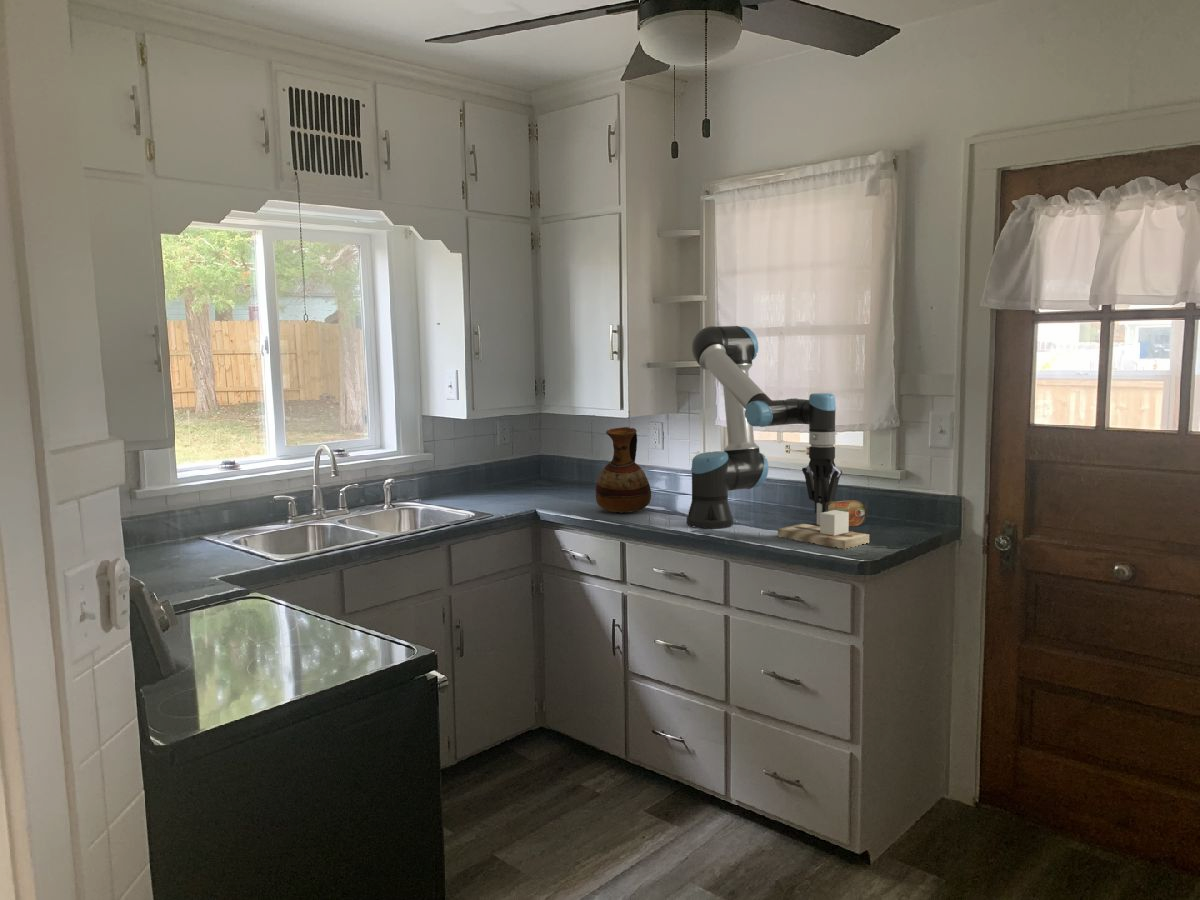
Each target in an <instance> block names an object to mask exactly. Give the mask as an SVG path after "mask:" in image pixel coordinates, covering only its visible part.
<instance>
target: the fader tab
mask: <svg viewBox="0 0 1200 900" xmlns="http://www.w3.org/2000/svg"><path fill="white" fill-rule="evenodd" d="M819 526H820V533H822V534H828V535H834V536H835V535H839V534H843V533H847V532H849V528H850V527H849V512H844V511H838V510H832V511H828V512H823V513H820V525H819Z"/></svg>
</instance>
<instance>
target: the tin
mask: <svg viewBox="0 0 1200 900" xmlns="http://www.w3.org/2000/svg"><path fill="white" fill-rule="evenodd" d="M832 510H838V511H844V512H849V528H851V527H850V526H853V527H858V526H860V525H862V524H863V523H864V522H865V520H866V518H867V509H866V506H865V504H864V503H863V502H861V500H857V499H855V500H854V499H851V500H849V499H848V500H840V501H839V500H838V501H832V502H829V504H828V511H832Z"/></svg>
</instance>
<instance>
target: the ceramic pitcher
mask: <svg viewBox="0 0 1200 900" xmlns="http://www.w3.org/2000/svg"><path fill="white" fill-rule="evenodd" d="M605 433H606V435H607V436H609V438H610V439H611V440H612V448H613V456H612V458H611V461H610V462H609V463H607V464H606V465H605V467H604V468H603V469H602V471H601V472H600V474H599V475H598V476H599V477H598V478H597V480H596V481H597V482H596V486H595V501H596V504H597V505H598V506H599V508H601V509H603V510H605V511H609V512H612V513H616V512H620V513H619V514H623V512H625V513H633V512H636V511H640V510H643V509H644V508H646V507H647V506H649V505H650V502H651V499H652V489H651V484H650V483H649V480H648V478H647V476H646V473H645V472H644V470H643V469H642V468H641V466H640V465H639V464H638V463H637V462H636V457H637V448H638V447H637V446H638V434H637V429H636V428H633V427H629V426H624V427H623V426H622V427H617V428H611V429H607V430H606V431H605Z"/></svg>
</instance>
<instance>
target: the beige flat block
mask: <svg viewBox="0 0 1200 900" xmlns="http://www.w3.org/2000/svg"><path fill="white" fill-rule="evenodd" d="M778 536H780V537H779V538H781V537H785V538H784V539H786V538H790V539H789V540H792V539H795V540H794V541H797V540H799V541H798V542H802V541H805V542H804V543H808V542H810V543H809V544H813V543H815V544H814V545H820V546H823V547H824V546H826V547H829V548H830V547H831V548H835V547H837V549H840V548H843V549H842V550H847V549H846V548H848V549H851V548H850V547H852V548H856V547H859V546H858V545H860V546H863V545H862V544H864V545H866V543H868V544H869V543H870V534H867V533H862V532H855V531H851V530H850V531H849V532H847V533H843V534H839V535H835V536H834V535H828V534H822V533H820V525H814V524H808V523H800V524H794V525H790V526H785V527H781V528H778V529H777V537H778ZM855 546H856V547H855Z"/></svg>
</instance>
